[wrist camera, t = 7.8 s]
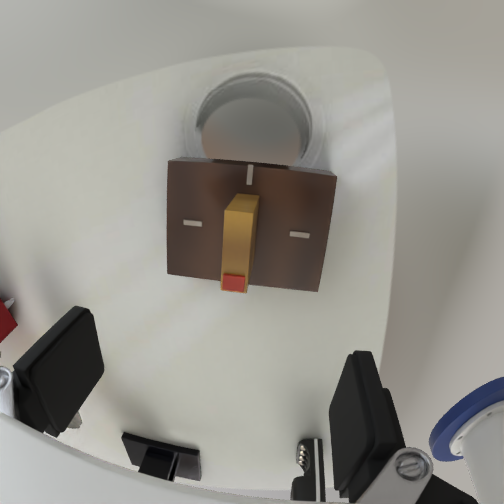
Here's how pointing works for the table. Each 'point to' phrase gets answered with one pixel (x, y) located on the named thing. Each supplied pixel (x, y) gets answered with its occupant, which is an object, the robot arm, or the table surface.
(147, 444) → the bracket
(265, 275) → the plate
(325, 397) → the table surface
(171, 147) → the table surface
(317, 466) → the battery charger
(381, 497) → the robot arm
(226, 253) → the thumbturn
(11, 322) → the alarm clock
